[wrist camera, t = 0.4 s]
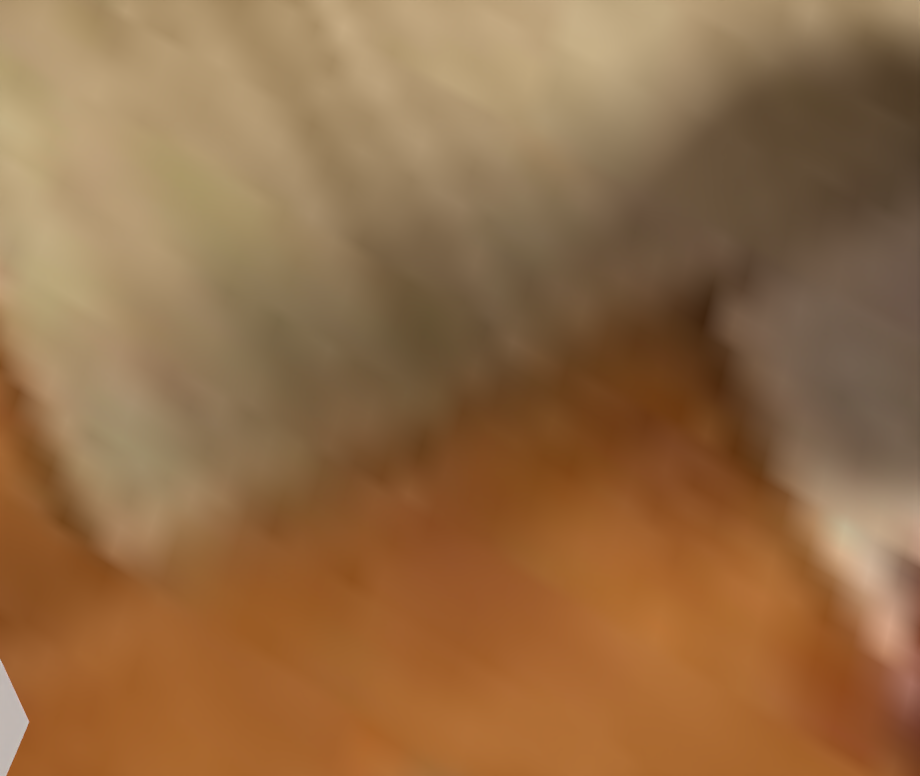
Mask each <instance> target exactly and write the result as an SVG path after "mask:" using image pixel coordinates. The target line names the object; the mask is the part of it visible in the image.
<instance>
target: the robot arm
mask: <svg viewBox="0 0 920 776" xmlns="http://www.w3.org/2000/svg"><path fill="white" fill-rule="evenodd" d="M28 723H29V721H28V718H27V716H26V714H25V712H24V710H23V708H22V705H21V703H20V701H19V699H18V697H17V694H16V692H15V690H14V688H13V686H12V684H11V681H10V679H9V677H8V675H7V673H6V671H5V668H4V666H3V664H2V662H1V660H0V776H6V775H7V773H8V770H9V768H10V766H11V763H12V761H13V759H14V756H15V754H16V752H17V749H18V747H19V745H20V742H21V740H22V737H23V735H24V733H25V730H26V728H27V726H28Z"/></svg>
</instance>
